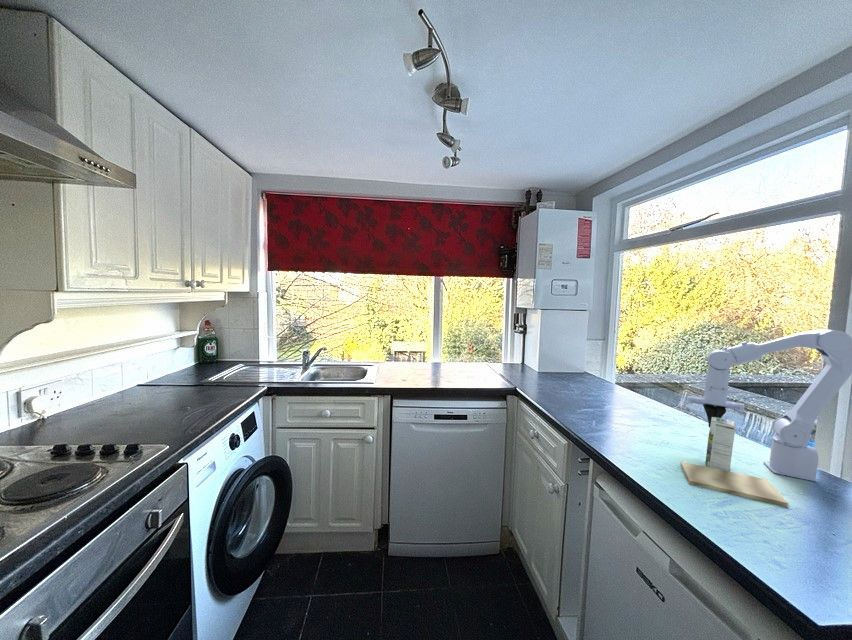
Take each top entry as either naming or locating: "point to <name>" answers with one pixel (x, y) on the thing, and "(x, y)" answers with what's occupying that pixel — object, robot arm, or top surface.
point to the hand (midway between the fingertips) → (711, 427)
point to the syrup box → (720, 444)
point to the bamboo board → (732, 483)
